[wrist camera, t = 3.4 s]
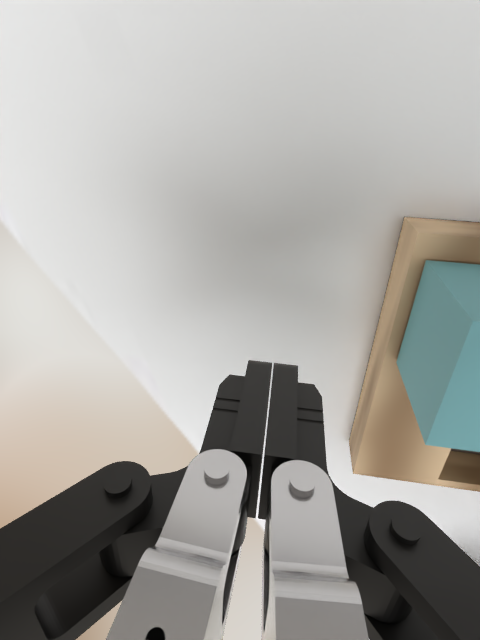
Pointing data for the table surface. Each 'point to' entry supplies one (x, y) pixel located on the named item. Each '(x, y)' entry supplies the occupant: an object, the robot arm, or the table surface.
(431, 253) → the board
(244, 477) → the robot arm
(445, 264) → the teal block
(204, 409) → the table surface
